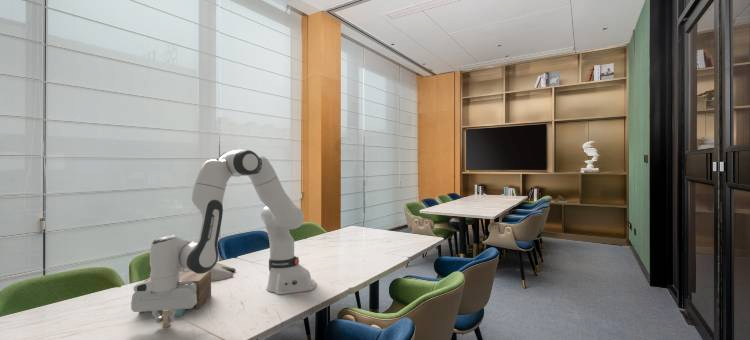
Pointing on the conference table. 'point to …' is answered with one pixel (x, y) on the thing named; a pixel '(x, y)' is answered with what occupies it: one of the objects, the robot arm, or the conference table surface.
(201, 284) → the walnut shelf
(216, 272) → the mask
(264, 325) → the conference table surface
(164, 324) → the tethered block
